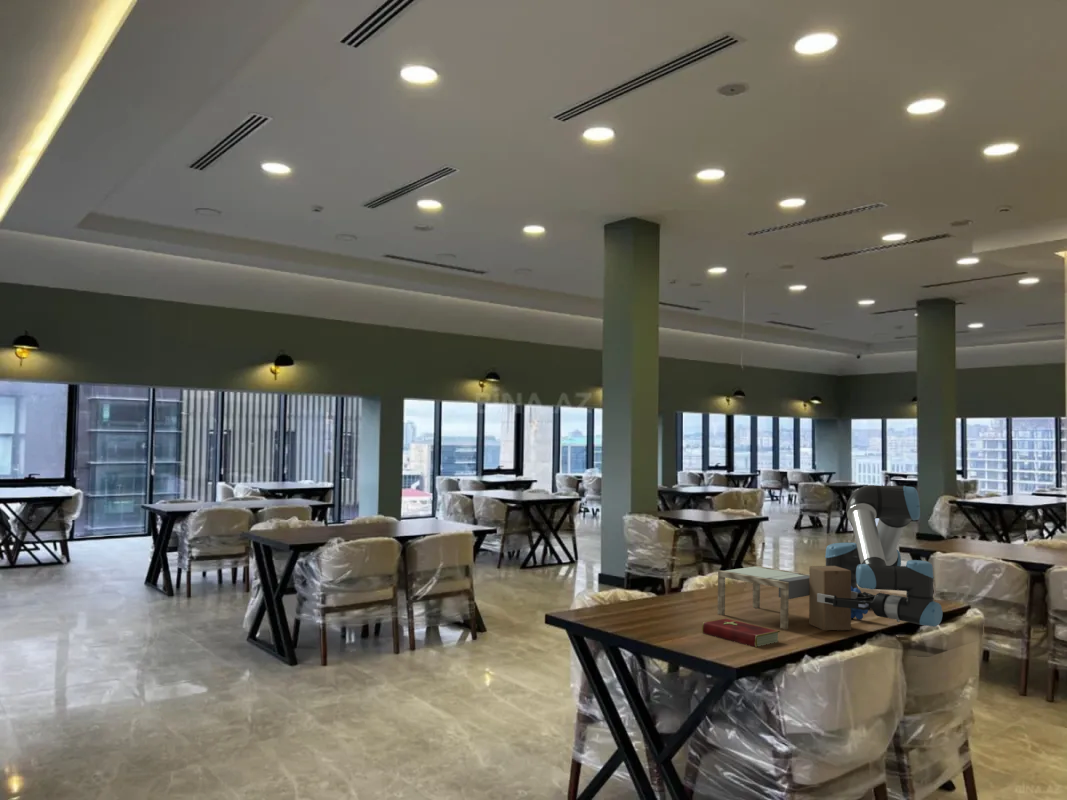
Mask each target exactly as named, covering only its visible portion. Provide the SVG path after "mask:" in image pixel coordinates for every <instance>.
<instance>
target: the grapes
mask: <svg viewBox="0 0 1067 800" xmlns="http://www.w3.org/2000/svg"><path fill="white" fill-rule="evenodd" d="M860 589H861V588H860ZM860 589H859V587H858V588H854V589H853V587H852V586H851V591H853V592H858V593H859V592H861V593H862V590H860ZM868 612H869V610H866V609H865V610H861V609H854V608H851V618H854V619H857V620H859V621H860V620H863V619H864V615H867V614H868Z"/></svg>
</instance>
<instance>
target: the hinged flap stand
mask: <svg viewBox="0 0 1067 800" xmlns="http://www.w3.org/2000/svg"><path fill="white" fill-rule="evenodd" d="M752 567H760V568H766V569H772V570H778V571H784V572H790V573H798V574H799V575H805V576H809V573H802V572H797V571H790V570H785V569H778V568H771V567H765V566H760V565H753V566H752ZM726 579H730V580H735V581H742V582H746V583H752V608H754V609H760V608H761V585H762V586H763V585H764V586H767V587H773V588H778V589H779V588H781V598H780V607H779V608H780V612H779V613H780V615H779V620H780V624H779V627H780V628H779V629H781V628H783V629H782V630H785V629H786V630H789V600H790V599H789V582H784V581H778V580H773V579H767V578H761V577H755V576H750V575H744V574H738V573H733V572H727V571H726V570H718V571H717V615H719V614H720V615H719V616H725V614H726Z"/></svg>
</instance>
